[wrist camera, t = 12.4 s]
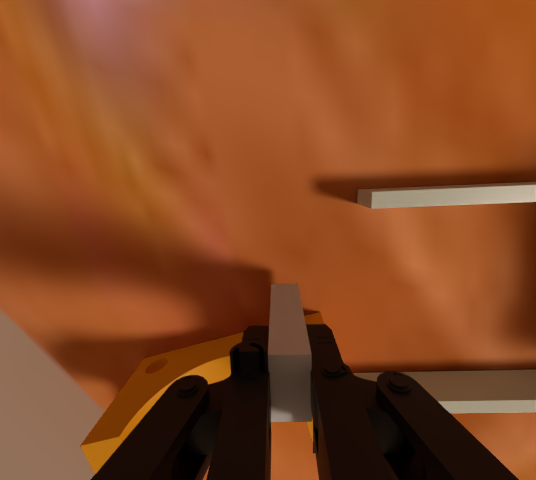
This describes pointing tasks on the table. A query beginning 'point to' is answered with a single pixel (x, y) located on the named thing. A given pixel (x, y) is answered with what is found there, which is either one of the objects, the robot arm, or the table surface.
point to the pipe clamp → (160, 390)
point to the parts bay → (464, 382)
